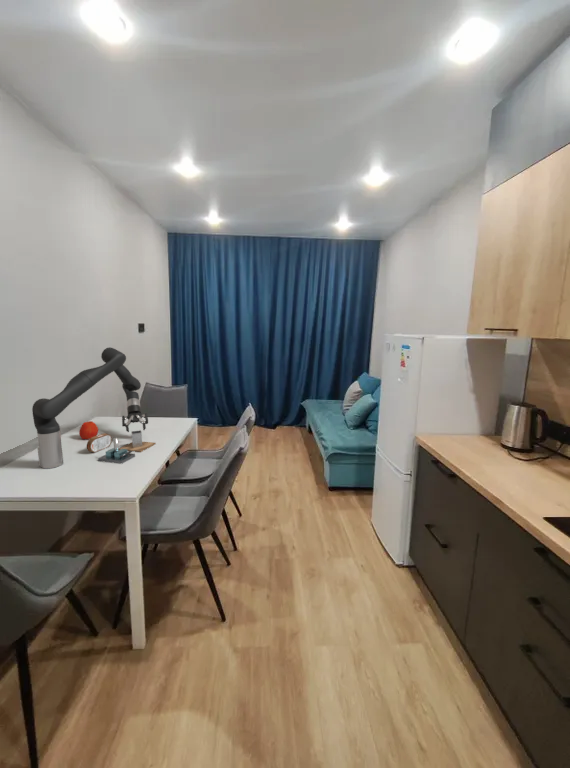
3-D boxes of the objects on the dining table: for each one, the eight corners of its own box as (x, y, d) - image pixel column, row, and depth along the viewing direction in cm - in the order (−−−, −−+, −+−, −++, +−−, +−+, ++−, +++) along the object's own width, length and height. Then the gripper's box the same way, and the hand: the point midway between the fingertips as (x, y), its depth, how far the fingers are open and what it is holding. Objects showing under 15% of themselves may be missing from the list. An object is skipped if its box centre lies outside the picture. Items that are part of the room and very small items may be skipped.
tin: (109, 445, 201) (108, 431, 200) (113, 446, 200) (112, 431, 199) (86, 454, 187) (85, 439, 186) (91, 454, 186) (89, 439, 185)
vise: (98, 461, 177) (96, 440, 176) (112, 454, 187) (110, 434, 185) (122, 463, 174) (120, 442, 172) (135, 456, 184) (133, 436, 182)
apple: (97, 439, 211) (96, 422, 209) (78, 441, 207) (76, 424, 206) (99, 434, 220) (98, 418, 219) (81, 436, 217) (79, 420, 215)
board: (118, 450, 193) (118, 448, 193) (134, 442, 206) (134, 440, 206) (140, 452, 190) (140, 450, 190) (155, 444, 203) (155, 442, 203)
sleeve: (132, 447, 195) (131, 433, 193) (132, 445, 199) (131, 431, 198) (142, 446, 197) (141, 432, 196) (141, 443, 201) (140, 430, 200)
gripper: (120, 405, 206) (122, 429, 198) (146, 403, 213) (149, 425, 204) (121, 412, 212) (123, 435, 204) (146, 409, 218) (149, 432, 210)
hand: (136, 430), depth 204 cm, fingers open, 8 cm apart
